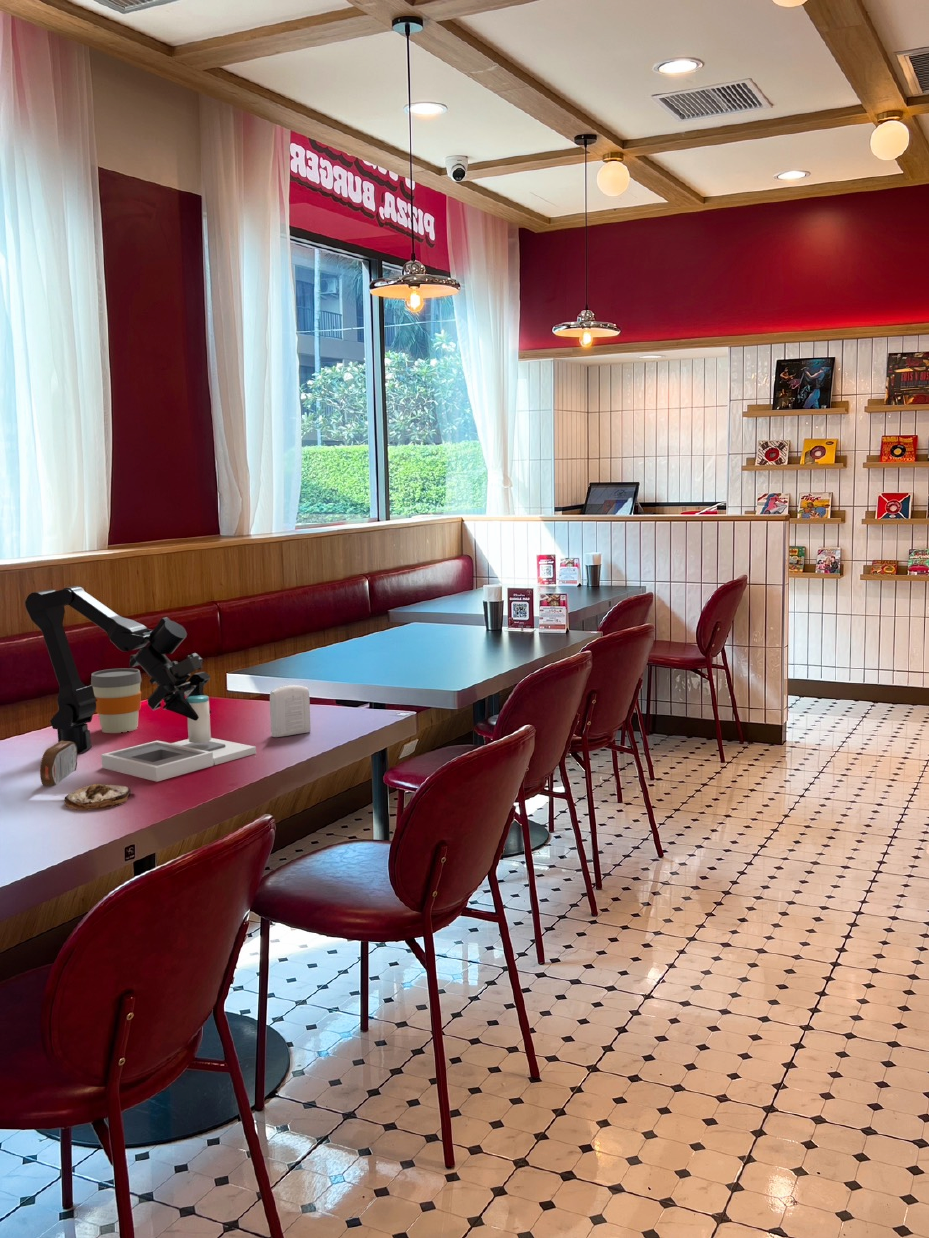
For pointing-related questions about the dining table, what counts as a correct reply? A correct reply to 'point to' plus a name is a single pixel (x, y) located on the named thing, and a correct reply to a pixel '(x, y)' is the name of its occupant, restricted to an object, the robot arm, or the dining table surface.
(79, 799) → the brown topped flatbread
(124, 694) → the reusable coffee cup
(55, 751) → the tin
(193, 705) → the ball
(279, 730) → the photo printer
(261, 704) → the dining table surface
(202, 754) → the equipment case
